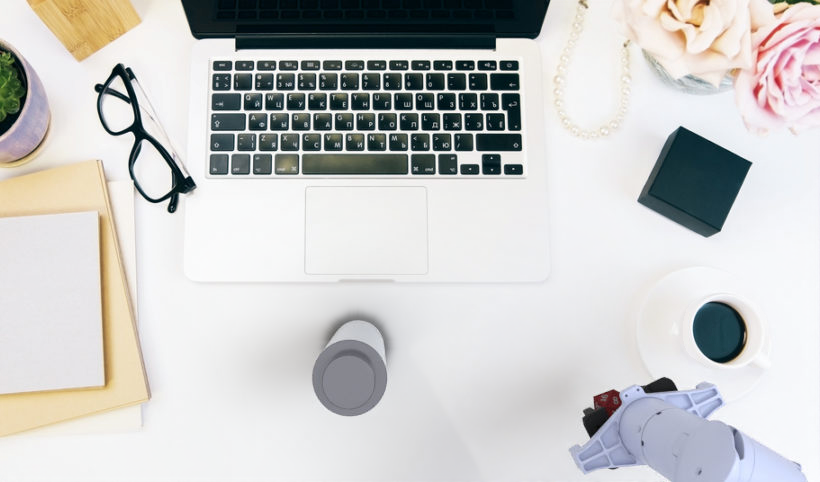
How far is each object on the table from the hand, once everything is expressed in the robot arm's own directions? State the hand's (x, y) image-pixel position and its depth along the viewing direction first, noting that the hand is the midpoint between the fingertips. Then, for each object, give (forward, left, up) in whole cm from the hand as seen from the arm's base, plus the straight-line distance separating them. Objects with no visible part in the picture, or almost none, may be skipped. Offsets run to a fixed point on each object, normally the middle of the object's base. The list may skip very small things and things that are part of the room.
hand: (610, 407), depth 63 cm
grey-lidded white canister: (+17, +22, -8) cm, 29 cm away
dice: (0, 0, -2) cm, 2 cm away
